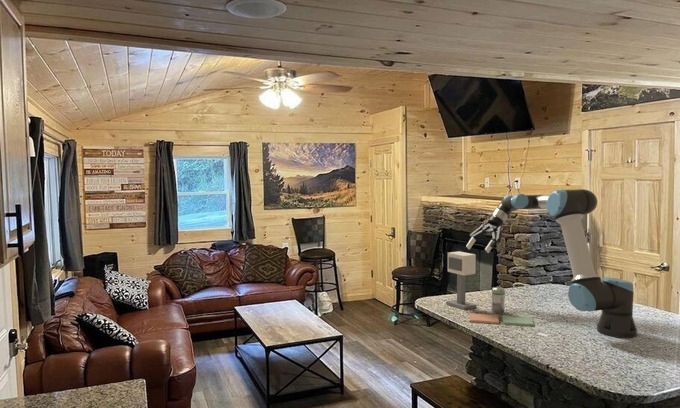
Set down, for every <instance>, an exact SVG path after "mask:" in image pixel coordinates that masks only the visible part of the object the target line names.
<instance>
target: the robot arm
mask: <svg viewBox="0 0 680 408" xmlns="http://www.w3.org/2000/svg"><path fill="white" fill-rule="evenodd" d="M597 207H598V198H597V196H596V194H595V193H594V192H593V191H591V190H588V189H583V188H582V189H564V188H563V189H557V190H556V189H555V190H553V191H552V192H551V193H550V194H531V195H530V194H524V193H518V194H514V195H509V194H507V195H505V196H504V197H503V198H502V199H501V201H500V202H499V204H498V206H497V207H496V209H494V211H493V213H492V214H491V216H490V217H489V219H488V220H487V224H486V225H485V224H484V223H482V224H481V225H480V226H479V227H478V228H477V229H475V230H474V231H472V233H470V234H469V237H470V238H469V240H468V243H467V244H466V246H465V247H466V248H467V249H468V250H470V249H471V248H472V247H473V245H474V244H475V242H476V241H477V239H479V238H480V237H482V236H483V235H487V234H488V235H489V234H490V235H492V239H490V241H489V242H488V244H487V246H486V247H485V248H484V251H486V252H485V253H487V254H489V253H490V252H491V250H492V249H493V248H494V247H495V245H496V244H498V243H501V242H502V235H503V232H504V230H505V229H504V228H503V225H504V223H505V222H506V221H507V219H508V217H509V216H510V214H512V213H513V212H515V211H519V210H520V211H521V210H546V211H547V213H548V214H549V216H552V217H554V218H555V222H556V223H558V224H559V225H560V229H561V233H562V236H563V240H564V243H565V248H566V252H567V255H568V259H569V263H570V268H571V272H572V276H573V277H572V279H571V280H570V283H571V284H570V285H569V287H568V289H567V290H568V291H567V297H568V299H569V303H570V304H571V305H572V306H573V307H574V308H575V309H576V310H578V311H580V312H589V313H590V312H595V311H596V312H597V311H601V314H600V316H599V319H598V321H597V324H596V331H597V332H598V333H601V334H603V335H606V336H610V337H614V338H623V339H624V338H626V339H627V338H634V337H636V336H637V335H638V329H637V325H636V322H635V320H634V314H633V310H634V309H633V308H634V293H635V292H634V285H633V283H632V282H631V281H629V280H625V279H621V278H614V277H603V278H602V279H601V276H600V275H598V274H596V271H595V268H594V264H593V259H592V256H591V252H590V248H589V245H588V241H587V237H586V233H585V230H584V226H583V222H582V220H583V218H584V217H585V216H584V215H588V214H591V213H593V212H594V211H595V209H596V208H597Z"/></svg>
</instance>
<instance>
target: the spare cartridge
mask: <svg viewBox="0 0 680 408" xmlns="http://www.w3.org/2000/svg"><path fill="white" fill-rule="evenodd" d="M505 293H506V289H505V288H504V287H501V286H494V287H491V313H492V314H493V315H503V314H505Z"/></svg>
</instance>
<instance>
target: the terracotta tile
mask: <svg viewBox="0 0 680 408" xmlns="http://www.w3.org/2000/svg"><path fill="white" fill-rule="evenodd" d="M469 323H479V324H495V325H499V323H500V320H499V314H487V313H486V314H483V313H471V312H470V313H469Z"/></svg>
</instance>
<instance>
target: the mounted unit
mask: <svg viewBox="0 0 680 408" xmlns="http://www.w3.org/2000/svg"><path fill="white" fill-rule="evenodd" d="M476 257H477V255H476V254H475V253H469V252H463V251H451V252H447V272H448V273H451V274H456V299H452V300H447V301H446V302H445V305H447V306H451V307H453V308H456V309H460V310H461V311H466V310H472V309H476V308H477V306H478V305H477V304H476V303H472V302H469V301H466V282H467V281H466V278H467V276H470V275H476V263H477V261H476Z"/></svg>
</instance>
